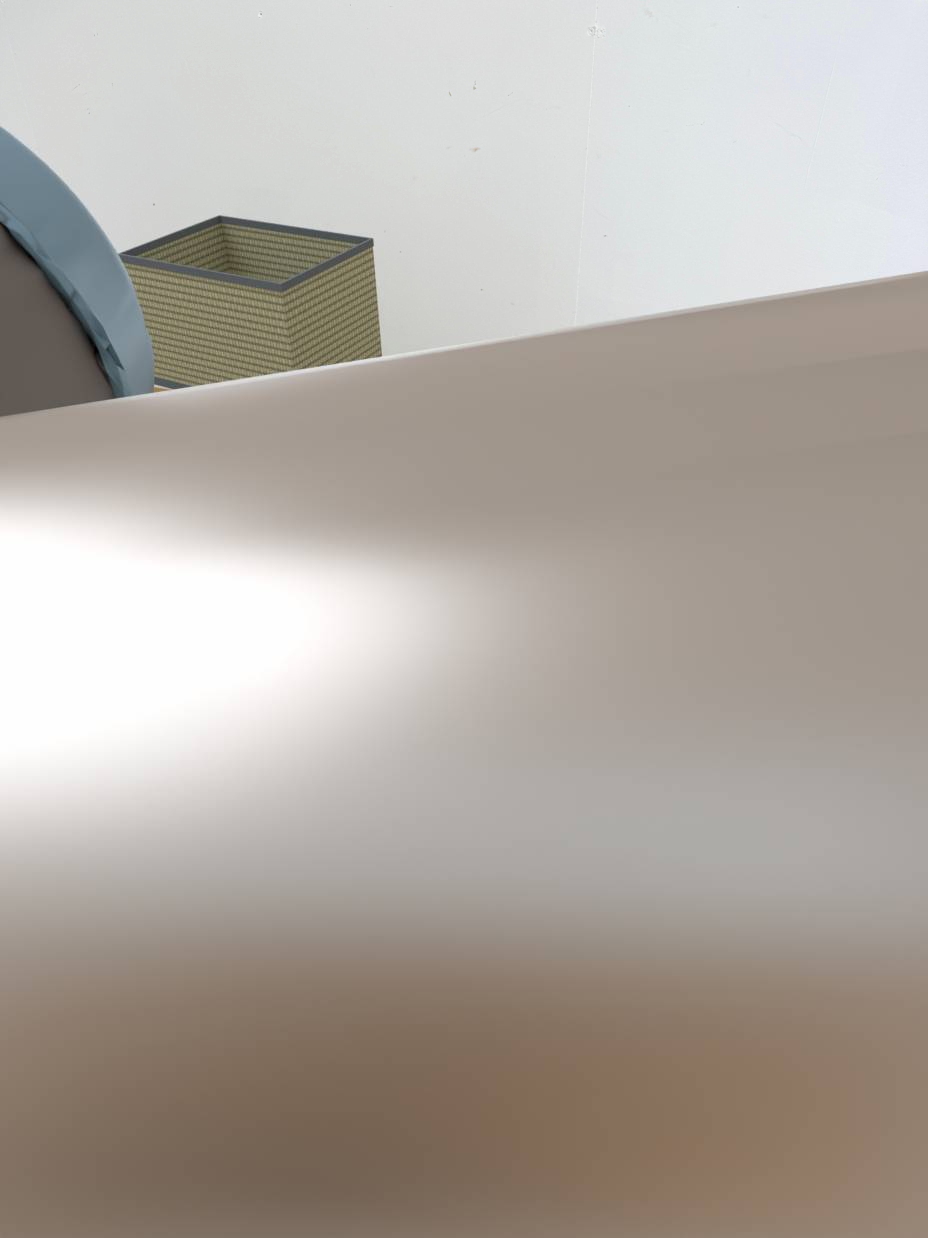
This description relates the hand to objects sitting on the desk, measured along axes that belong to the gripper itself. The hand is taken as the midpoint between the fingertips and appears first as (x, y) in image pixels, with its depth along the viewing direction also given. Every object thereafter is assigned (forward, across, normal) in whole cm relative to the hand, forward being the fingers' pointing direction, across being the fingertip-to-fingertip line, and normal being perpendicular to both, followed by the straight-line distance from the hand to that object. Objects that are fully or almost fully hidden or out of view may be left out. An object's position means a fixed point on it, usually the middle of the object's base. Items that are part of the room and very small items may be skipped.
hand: (828, 680), depth 42 cm
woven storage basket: (+63, +9, +25) cm, 69 cm away
